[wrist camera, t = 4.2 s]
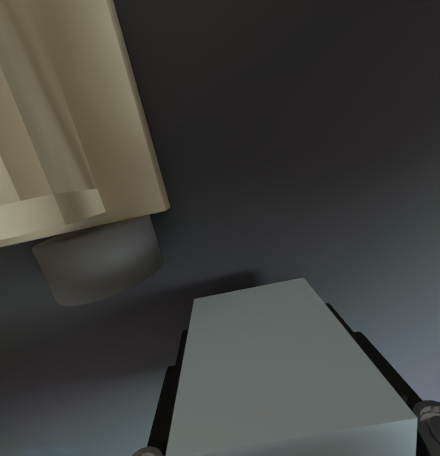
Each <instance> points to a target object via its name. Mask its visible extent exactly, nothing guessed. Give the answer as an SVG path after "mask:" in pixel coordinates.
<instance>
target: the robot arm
mask: <svg viewBox="0 0 440 456" xmlns="http://www.w3.org/2000/svg"><path fill="white" fill-rule="evenodd" d="M325 305H326V306H327V307H328V308H329V310H330V311H331V312H332V313H333V314H334V316H335V317H336V318H337V319H338V321H339V322H340V323H341V324H342V326H343V327H344V328H345V329H346V330H347V332H348V333H349V334H350V335H351V337H352V338H353V339H354V340H355V342H356V343H357V344H358V345H359V347H360V348H361V349H362V350H363V351H364V353H365V354H366V355H367V356H368V358H369V359H370V360H371V361H372V363H373V364H374V365H375V366H376V367H377V369H378V370H379V371H380V372H381V374H382V375H383V376H384V377H385V379H386V380H387V381H388V382H389V384H390V385H391V386H392V387H393V388H394V390H395V391H396V392H397V393H398V395H399V396H400V397H401V398H402V400H403V401H404V402H405V403H406V404H407V406H408V407H409V408H410V409H411V411H412V412H413V413H414V414H415V416H416V417H417V440H416V456H440V402H437V401H432V400H425V401H422V400H421V398H420V397H419V396H418V395H417V394H416V393H415V392H414V391H413V389H412V388H411V387H410V386H409V385H408V384H407V383H406V382H405V380H404V379H403V378H402V377H401V376H400V375H399V374H398V373H397V372H396V370H395V369H394V368H393V367H392V366H391V365H390V364H389V363H388V361H387V360H386V359H385V358H384V357H383V356H382V355H381V354H380V353H379V351H378V350H377V349H376V348H375V347H374V346H373V345H372V344H371V342H370V341H369V340H368V339H367V338H366V337H365V336H364V335H363V334H362V333H360V332H353V331H352V330H351V329H350V327H349V326H348V325H347V324H346V323H345V322H344V320H343V319H342V318H341V317H340V316H339V314H338V313H337V312H336V311H335V310H334V308H333V307H332V306H331V305H330V304H329V303H326V304H325ZM187 335H188V330H184V331H183V333H182V337H181V342H180V346H179V351H178V356H177V360H176V365H174V366H169V367H168V368H167V371H166V374H165V378H164V382H163V386H162V390H161V394H160V398H159V402H158V406H157V410H156V414H155V417H154V421H153V425H152V429H151V433H150V437H149V441H148V445H147V447H145V448H142V449H140V450H139V451H137V452H136V453H134V454H133V455H132V456H166V450H167V445H168V439H169V434H170V428H171V423H172V417H173V412H174V407H175V401H176V396H177V390H178V385H179V379H180V374H181V368H182V363H183V357H184V352H185V346H186V341H187Z"/></svg>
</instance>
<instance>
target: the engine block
mask: <svg viewBox="0 0 440 456" xmlns="http://www.w3.org/2000/svg"><path fill="white" fill-rule="evenodd" d="M416 440H417V417H416V416H415V414H414V413H413V412H412V411H411V409H410V408H409V407H408V406H407V404H406V403H405V402H404V401H403V400H402V398H401V397H400V396H399V395H398V393H397V392H396V391H395V390H394V388H393V387H392V386H391V385H390V384H389V382H388V381H387V380H386V379H385V377H384V376H383V375H382V374H381V372H380V371H379V370H378V369H377V367H376V366H375V365H374V364H373V363H372V361H371V360H370V359H369V358H368V356H367V355H366V354H365V353H364V351H363V350H362V349H361V348H360V347H359V345H358V344H357V343H356V342H355V340H354V339H353V338H352V337H351V335H350V334H349V333H348V332H347V330H346V329H345V328H344V327H343V326H342V324H341V323H340V322H339V321H338V319H337V318H336V317H335V316H334V314H333V313H332V312H331V311H330V310H329V308H328V307H327V306H326V305H325V303H324V302H323V301H322V300H321V298H320V297H319V296H318V295H317V293H316V292H315V291H314V290H313V289H312V287H311V286H310V285H309V284H308V282H307V281H306V280H305V279H304V277H303V278H298V279H293V280H288V281H283V282H278V283H273V284H268V285H262V286H257V287H252V288H247V289H242V290H237V291H232V292H227V293H222V294H217V295H212V296H207V297H202V298H197V299H194V302H193V308H192V313H191V319H190V324H189V330H188V335H187V341H186V346H185V352H184V357H183V363H182V368H181V374H180V379H179V385H178V390H177V396H176V401H175V407H174V412H173V417H172V423H171V428H170V434H169V439H168V445H167V450H166V456H416Z"/></svg>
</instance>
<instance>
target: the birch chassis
mask: <svg viewBox="0 0 440 456" xmlns="http://www.w3.org/2000/svg"><path fill="white" fill-rule="evenodd" d="M169 208H170V204H169V201H168V197H167V193H166V190H165V186H164V182H163V179H162V175H161V172H160V168H159V164H158V161H157V157H156V154H155V150H154V146H153V143H152V139H151V135H150V132H149V128H148V125H147V121H146V117H145V114H144V110H143V107H142V103H141V99H140V96H139V92H138V88H137V85H136V81H135V78H134V74H133V70H132V67H131V63H130V60H129V56H128V52H127V49H126V45H125V42H124V38H123V34H122V31H121V27H120V23H119V20H118V16H117V13H116V9H115V5H114V2H113V0H0V247H4V246H8V245H13V244H17V243H22V242H26V241H31V240H35V239H40V238H44V237H49V236H53V235H58V234H62V233H65V234H62V235H59V236H56V237H54V238H51V239H48V240H46V241H43V242H41V243H39V244H37V245H35V246H33V247H32V248H31V249H32V251H33V253H34V255H35V258H36V260H37V262H38V264H39V266H40V268H41V270H42V273H43V275H44V277H45V279H46V281H47V283H48V285H49V288H50V290H51V292H52V294H53V296H54V298H55V300H56V302H57V303H58V304H59V305H62V306H78V305H84V304H88V303H92V302H96V301H99V300H103V299H106V298H109V297H111V296H114V295H116V294H119V293H121V292H123V291H126V290H128V289H130V288H132V287H134V286H136V285H137V284H139V283H141V282H143V281H144V280H146V279H147V278H149V277H150V276H151V275H153V274H154V273H155V272H156V271H157V270H158V269H159V268H160V267H161V266H162V264H163V257H162V254H161V251H160V247H159V244H158V241H157V238H156V234H155V231H154V228H153V224H152V221H151V218H150V215H149V214H153V213H158V212H162V211H166V210H167V209H169ZM67 232H68V233H67Z"/></svg>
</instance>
